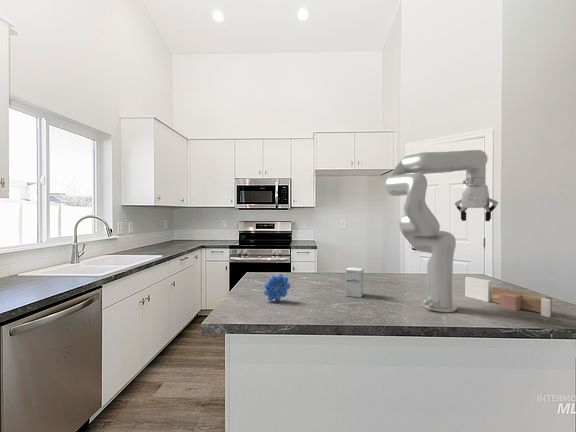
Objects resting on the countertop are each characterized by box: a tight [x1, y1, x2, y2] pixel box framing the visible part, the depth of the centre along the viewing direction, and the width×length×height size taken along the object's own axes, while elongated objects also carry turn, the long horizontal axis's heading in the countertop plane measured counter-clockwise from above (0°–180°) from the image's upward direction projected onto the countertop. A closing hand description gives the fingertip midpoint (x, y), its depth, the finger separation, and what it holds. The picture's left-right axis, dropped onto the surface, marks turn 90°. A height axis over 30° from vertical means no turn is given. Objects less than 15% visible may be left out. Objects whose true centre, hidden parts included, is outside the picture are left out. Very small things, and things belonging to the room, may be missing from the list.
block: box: [498, 293, 522, 312], centre depth 130 cm, size 4×6×6 cm
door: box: [491, 286, 552, 314], centre depth 130 cm, size 2×21×6 cm, turn 31°
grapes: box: [263, 273, 291, 302], centre depth 140 cm, size 12×7×12 cm, turn 95°
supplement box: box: [344, 267, 364, 299], centre depth 150 cm, size 7×7×13 cm
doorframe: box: [464, 276, 552, 318], centre depth 134 cm, size 5×33×9 cm, turn 31°
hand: (475, 220), depth 141 cm, fingers open, 9 cm apart
